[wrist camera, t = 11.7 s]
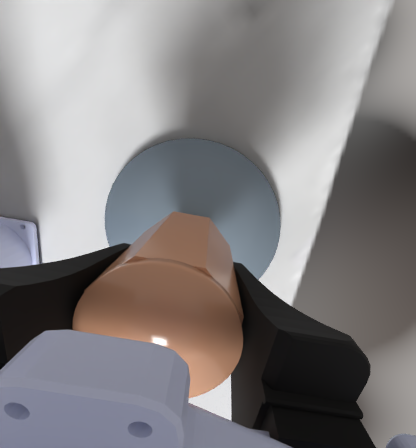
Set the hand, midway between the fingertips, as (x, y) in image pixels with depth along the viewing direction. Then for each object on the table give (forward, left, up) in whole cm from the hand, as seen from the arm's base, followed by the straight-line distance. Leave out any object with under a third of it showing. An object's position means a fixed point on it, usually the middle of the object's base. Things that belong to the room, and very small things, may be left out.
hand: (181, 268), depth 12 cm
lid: (0, 0, -7) cm, 7 cm away
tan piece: (0, 0, -2) cm, 2 cm away
